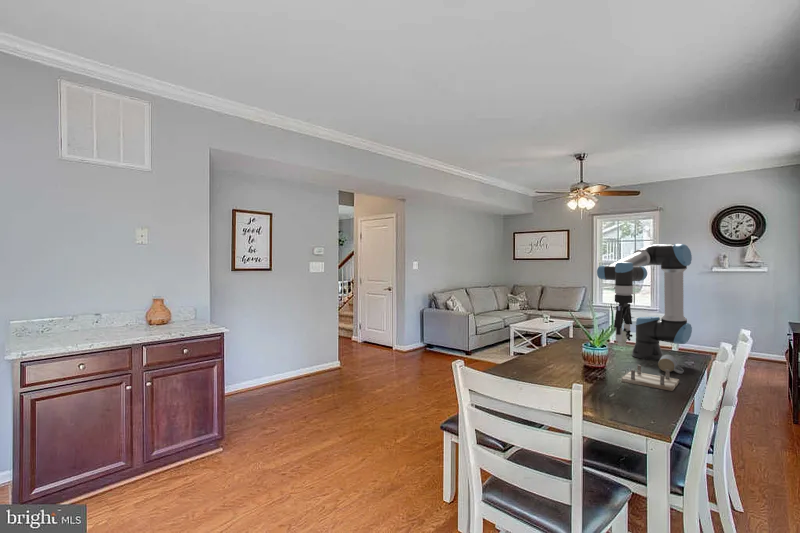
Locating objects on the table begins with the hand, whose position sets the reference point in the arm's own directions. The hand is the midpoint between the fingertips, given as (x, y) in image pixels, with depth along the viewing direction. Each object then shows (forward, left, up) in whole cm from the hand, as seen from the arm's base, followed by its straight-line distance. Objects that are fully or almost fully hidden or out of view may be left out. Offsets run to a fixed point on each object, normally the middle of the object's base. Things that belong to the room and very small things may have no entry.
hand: (622, 339), depth 198 cm
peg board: (0, +12, -18) cm, 22 cm away
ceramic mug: (-27, +15, -18) cm, 36 cm away
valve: (0, 0, -2) cm, 2 cm away
